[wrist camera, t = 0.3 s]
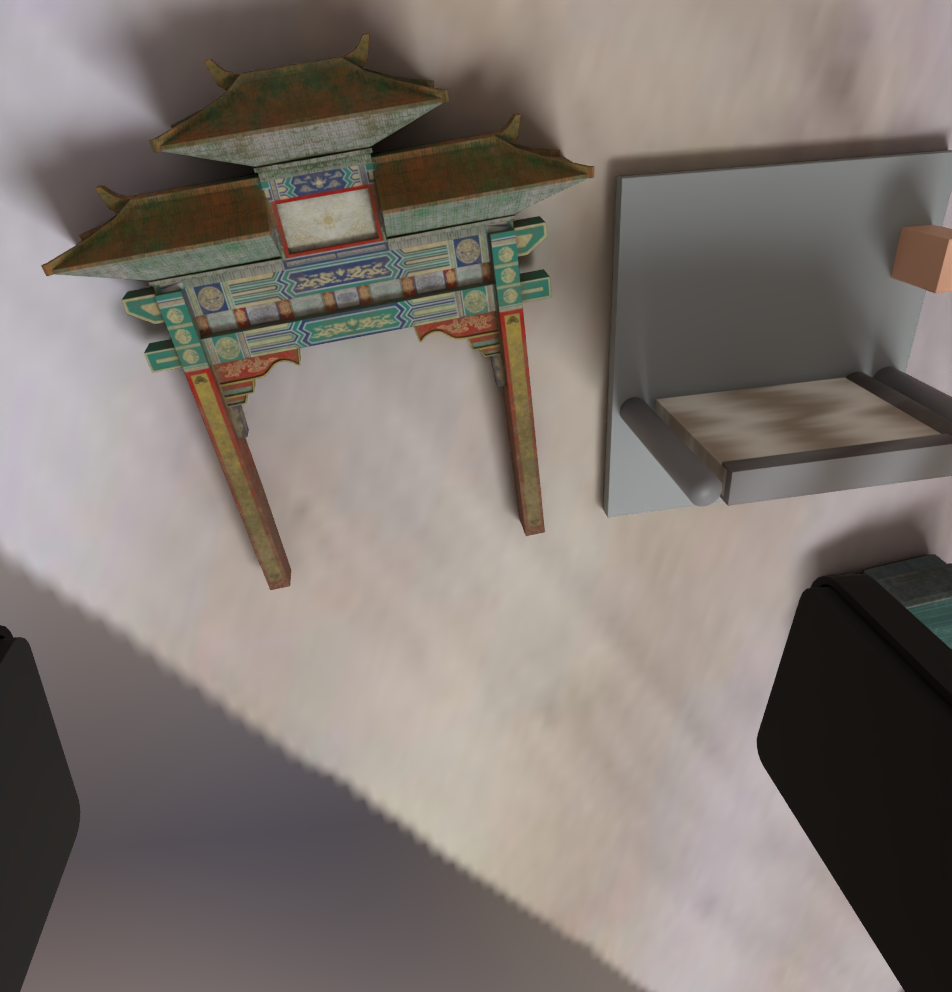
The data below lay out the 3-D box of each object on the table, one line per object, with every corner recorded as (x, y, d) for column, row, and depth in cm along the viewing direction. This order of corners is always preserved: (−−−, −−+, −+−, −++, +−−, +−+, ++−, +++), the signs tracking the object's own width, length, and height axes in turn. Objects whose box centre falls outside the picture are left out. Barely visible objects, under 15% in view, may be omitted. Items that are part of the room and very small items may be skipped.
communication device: (788, 765, 71) (841, 848, 63) (809, 572, 59) (878, 646, 51) (905, 738, 72) (971, 816, 64) (950, 541, 59) (1038, 609, 52)
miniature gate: (207, 619, 47) (-38, 102, 30) (218, 566, 52) (10, 90, 35) (608, 534, 49) (589, -1, 32) (584, 490, 54) (556, 1, 37)
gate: (872, 369, 48) (996, 436, 39) (865, 401, 49) (984, 472, 40) (656, 394, 47) (732, 470, 37) (654, 426, 48) (727, 507, 39)
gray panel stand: (616, 176, 41) (708, 207, 31) (948, 150, 43) (1138, 170, 33) (603, 510, 52) (667, 615, 42) (869, 475, 54) (992, 566, 44)
